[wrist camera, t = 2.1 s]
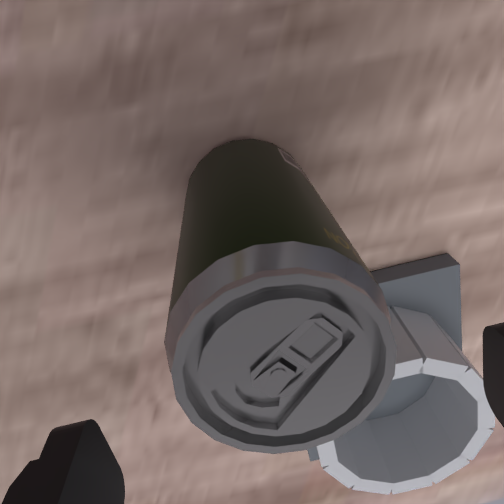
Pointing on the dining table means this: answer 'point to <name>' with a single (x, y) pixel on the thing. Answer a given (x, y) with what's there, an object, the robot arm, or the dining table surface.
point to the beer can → (272, 309)
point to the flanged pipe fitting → (417, 391)
